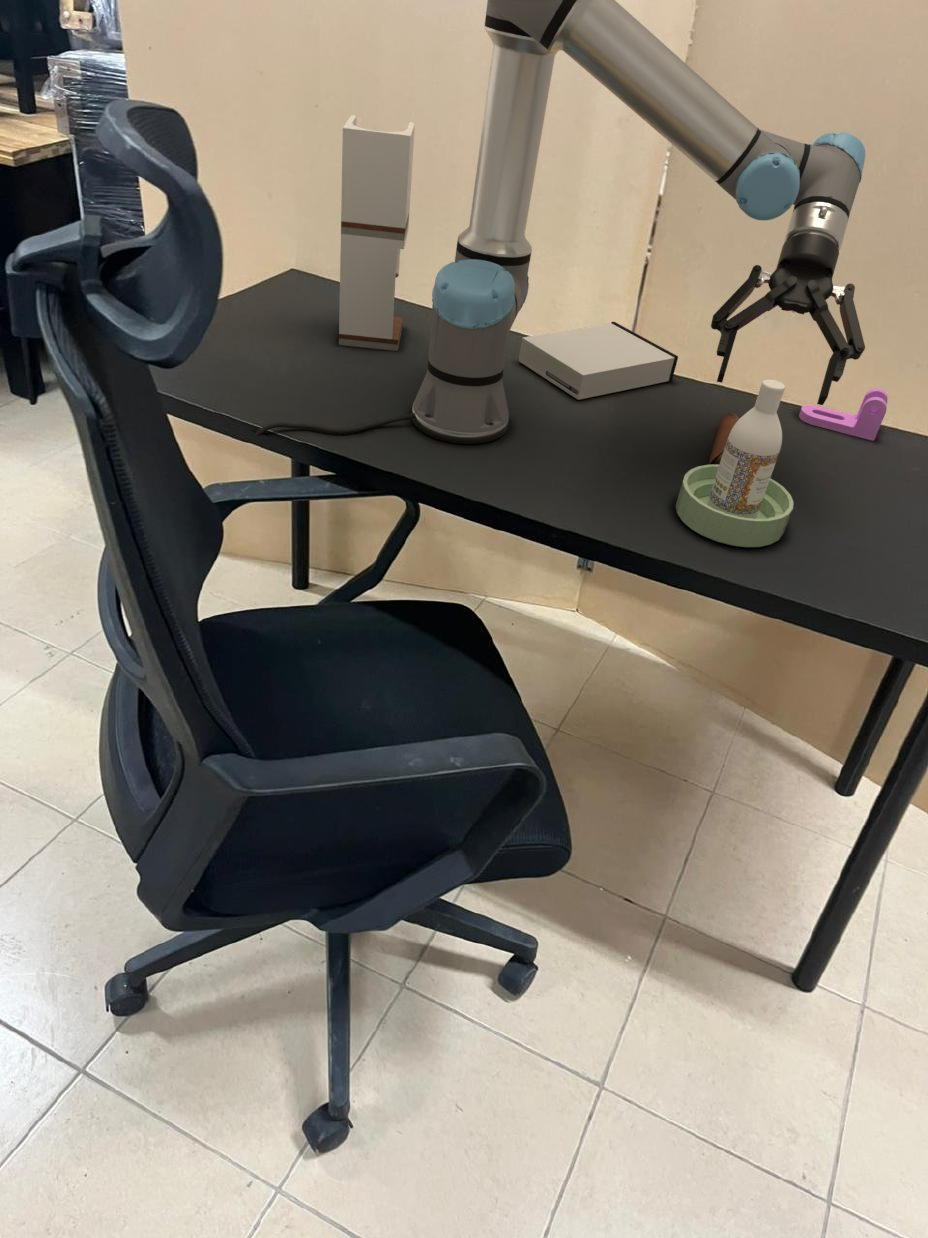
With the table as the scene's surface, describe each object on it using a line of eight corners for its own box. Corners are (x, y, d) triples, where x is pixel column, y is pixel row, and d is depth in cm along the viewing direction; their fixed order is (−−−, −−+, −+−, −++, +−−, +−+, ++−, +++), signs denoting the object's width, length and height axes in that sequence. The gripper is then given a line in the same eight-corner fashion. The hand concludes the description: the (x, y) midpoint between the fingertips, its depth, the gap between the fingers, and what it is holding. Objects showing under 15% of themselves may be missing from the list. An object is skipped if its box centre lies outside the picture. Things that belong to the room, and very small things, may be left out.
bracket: (875, 428, 157) (891, 391, 153) (873, 440, 153) (889, 403, 149) (800, 409, 161) (814, 372, 156) (797, 420, 156) (810, 383, 152)
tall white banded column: (397, 350, 162) (410, 135, 141) (338, 344, 162) (342, 127, 140) (402, 328, 171) (414, 122, 150) (346, 322, 171) (351, 114, 149)
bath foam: (730, 534, 123) (776, 398, 111) (694, 510, 127) (735, 376, 115) (764, 523, 126) (812, 390, 114) (728, 500, 131) (771, 369, 118)
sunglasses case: (762, 486, 135) (751, 447, 132) (715, 497, 138) (703, 459, 135) (769, 438, 148) (758, 401, 146) (726, 449, 152) (715, 413, 149)
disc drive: (672, 382, 164) (679, 355, 161) (578, 401, 153) (584, 373, 150) (609, 346, 175) (614, 321, 172) (517, 362, 164) (521, 335, 161)
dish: (681, 540, 121) (690, 512, 118) (669, 485, 133) (677, 458, 130) (793, 555, 121) (804, 527, 118) (771, 498, 133) (781, 471, 130)
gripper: (724, 213, 122) (681, 356, 120) (914, 249, 117) (874, 399, 115) (717, 244, 129) (677, 380, 127) (896, 279, 124) (858, 421, 122)
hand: (770, 389), depth 121 cm, fingers open, 13 cm apart
